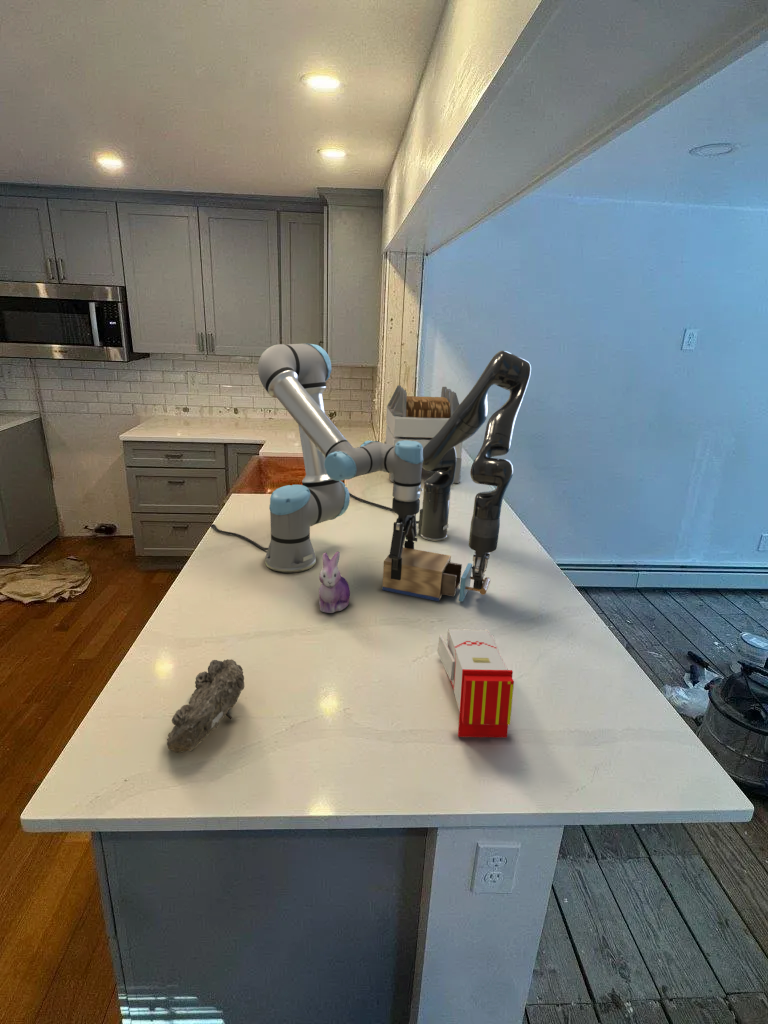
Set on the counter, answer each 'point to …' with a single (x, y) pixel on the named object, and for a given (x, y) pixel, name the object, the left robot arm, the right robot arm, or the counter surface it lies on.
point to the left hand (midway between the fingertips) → (402, 570)
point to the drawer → (453, 578)
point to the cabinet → (417, 574)
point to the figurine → (332, 586)
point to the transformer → (420, 420)
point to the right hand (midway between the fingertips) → (477, 589)
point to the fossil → (206, 705)
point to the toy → (478, 682)
